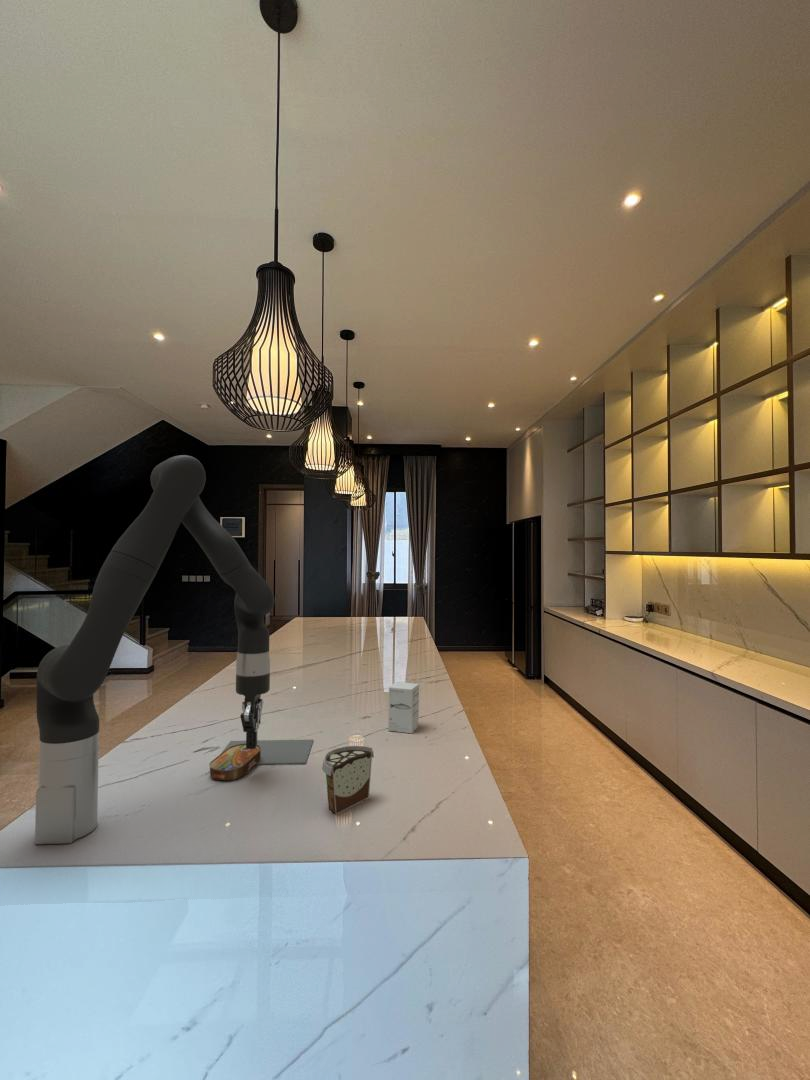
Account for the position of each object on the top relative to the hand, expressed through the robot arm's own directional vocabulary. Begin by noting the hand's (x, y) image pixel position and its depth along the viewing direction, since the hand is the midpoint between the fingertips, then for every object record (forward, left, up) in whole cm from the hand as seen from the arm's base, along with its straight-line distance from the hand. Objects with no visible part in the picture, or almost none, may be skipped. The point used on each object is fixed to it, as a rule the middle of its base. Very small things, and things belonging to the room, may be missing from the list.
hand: (251, 747), depth 121 cm
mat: (+14, -1, -6) cm, 15 cm away
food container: (-14, -22, -6) cm, 27 cm away
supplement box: (+31, -37, -6) cm, 48 cm away
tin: (+3, 0, -5) cm, 6 cm away
